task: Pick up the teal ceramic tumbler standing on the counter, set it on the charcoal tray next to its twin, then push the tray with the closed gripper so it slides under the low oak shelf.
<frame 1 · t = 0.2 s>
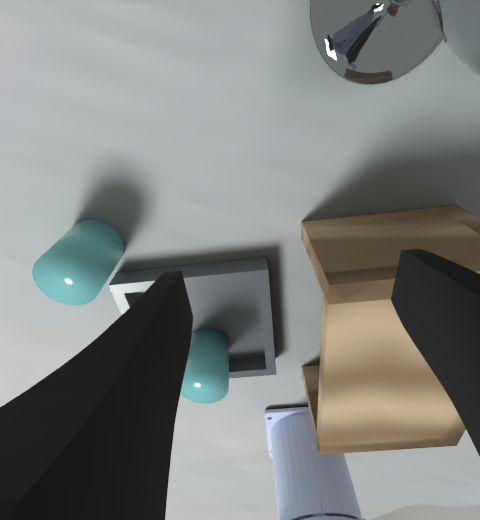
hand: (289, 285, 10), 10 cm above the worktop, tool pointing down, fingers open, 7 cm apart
tumbler b: (97, 243, 20), on the worktop
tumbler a: (208, 343, 25), resting on tray
tray: (204, 315, 25), on the worktop, touching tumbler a
shelf: (364, 305, 24), on the worktop
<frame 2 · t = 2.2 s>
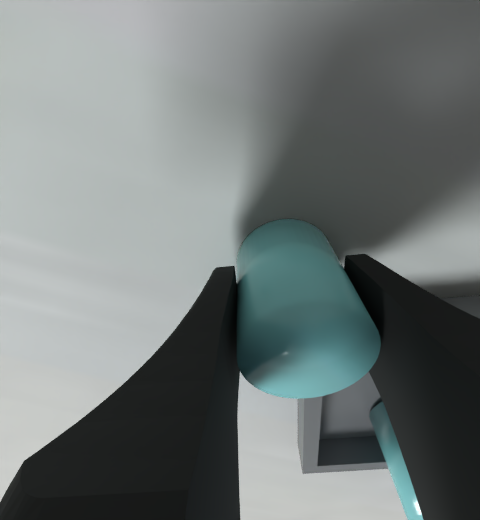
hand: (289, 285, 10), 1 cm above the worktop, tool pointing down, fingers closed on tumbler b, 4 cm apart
tumbler b: (284, 262, 11), on the worktop, touching gripper
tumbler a: (403, 410, 16), resting on tray
tray: (399, 372, 16), on the worktop
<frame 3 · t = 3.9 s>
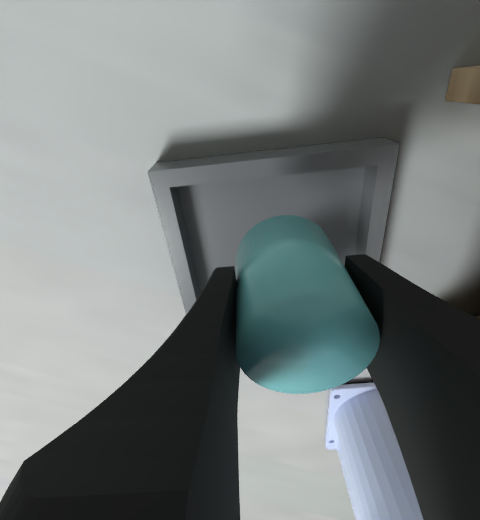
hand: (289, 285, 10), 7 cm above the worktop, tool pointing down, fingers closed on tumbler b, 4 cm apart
tumbler b: (283, 258, 11), point 5 cm above the worktop, touching gripper
tray: (271, 243, 18), on the worktop, touching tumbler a
when the fingers open (3 cm above the worktop, at t = 4.8 s): tumbler b drops 2 cm, resting on tray.
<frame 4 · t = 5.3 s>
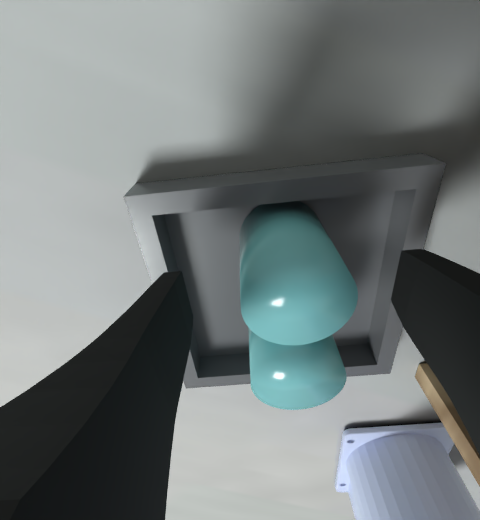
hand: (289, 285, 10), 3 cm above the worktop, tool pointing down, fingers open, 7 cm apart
tumbler b: (280, 238, 13), resting on tray
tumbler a: (282, 305, 15), resting in tray
tray: (278, 274, 15), on the worktop, touching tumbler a, tumbler b
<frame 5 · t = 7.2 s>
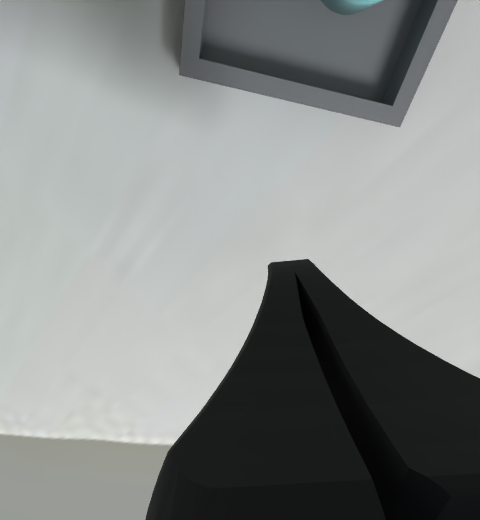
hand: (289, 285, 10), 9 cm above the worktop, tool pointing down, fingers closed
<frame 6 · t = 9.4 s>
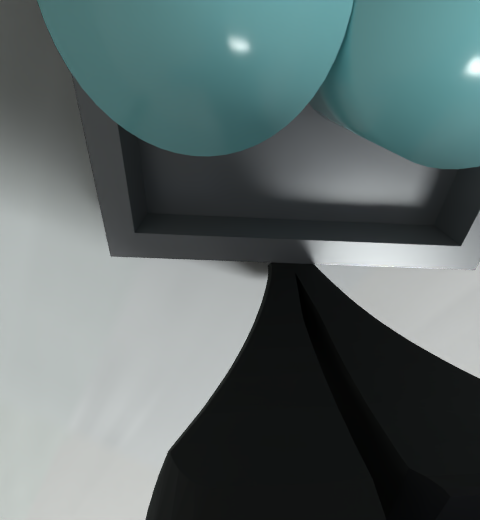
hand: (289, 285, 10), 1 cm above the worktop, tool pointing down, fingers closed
tumbler b: (217, 34, 7), resting on tray
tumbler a: (369, 46, 7), resting on tray
tray: (314, 43, 8), on the worktop, touching gripper, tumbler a, tumbler b
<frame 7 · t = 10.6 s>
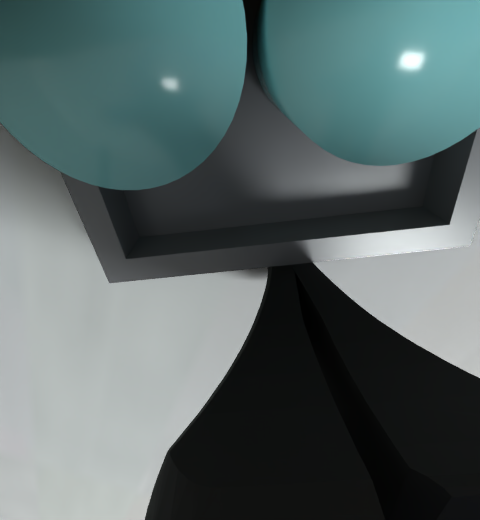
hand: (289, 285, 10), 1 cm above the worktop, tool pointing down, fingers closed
tumbler b: (170, 63, 7), resting on tray
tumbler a: (325, 43, 7), resting on tray
tray: (265, 51, 8), on the worktop, touching gripper, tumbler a
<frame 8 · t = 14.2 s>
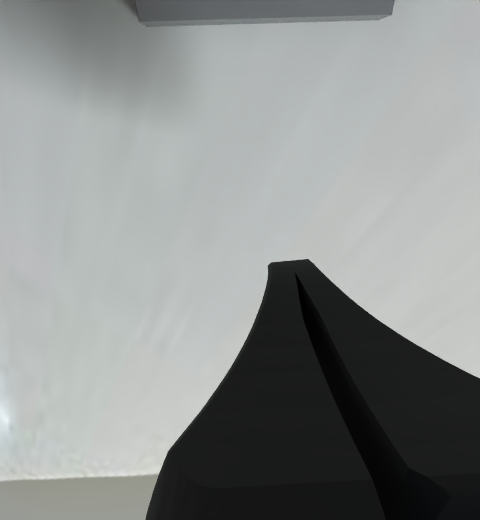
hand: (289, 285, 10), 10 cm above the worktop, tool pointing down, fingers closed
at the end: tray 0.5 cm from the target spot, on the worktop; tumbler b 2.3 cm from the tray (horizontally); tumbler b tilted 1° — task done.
